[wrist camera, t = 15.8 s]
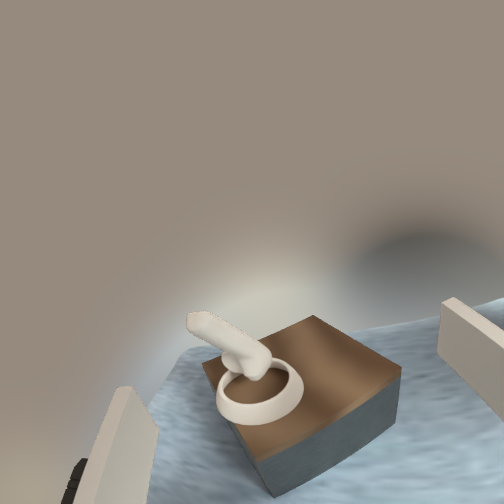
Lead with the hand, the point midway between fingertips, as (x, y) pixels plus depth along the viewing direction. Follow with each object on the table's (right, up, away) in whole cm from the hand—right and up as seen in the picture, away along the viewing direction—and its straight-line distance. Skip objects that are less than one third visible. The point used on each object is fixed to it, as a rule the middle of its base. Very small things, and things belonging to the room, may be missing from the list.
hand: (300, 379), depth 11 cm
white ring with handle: (-1, -7, +13) cm, 15 cm away
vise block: (+4, -13, +17) cm, 22 cm away
